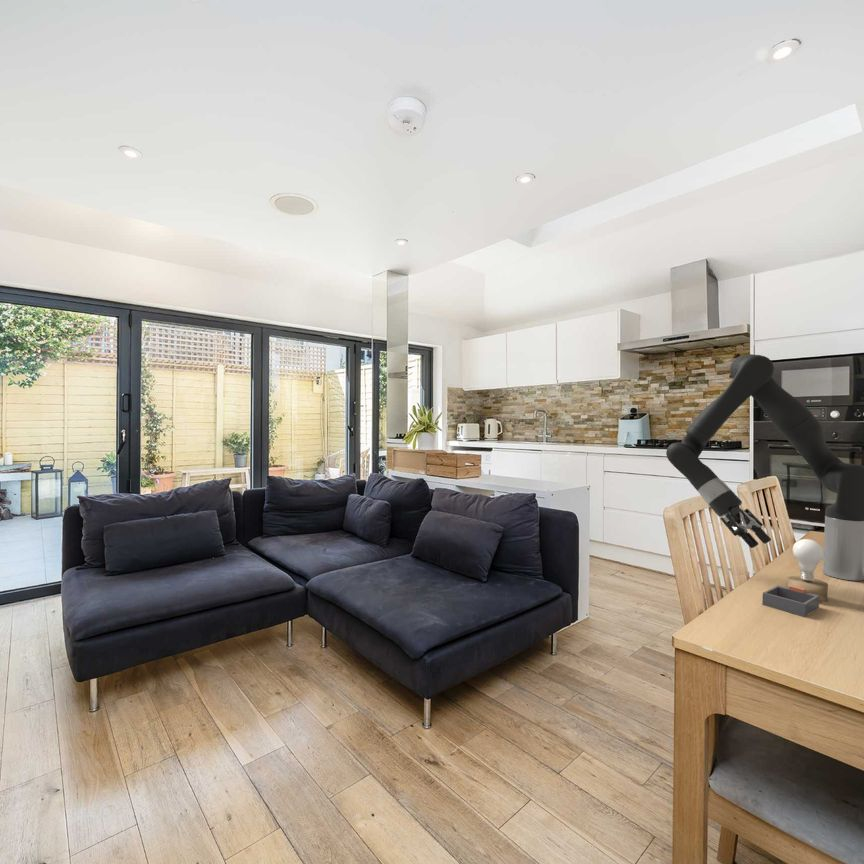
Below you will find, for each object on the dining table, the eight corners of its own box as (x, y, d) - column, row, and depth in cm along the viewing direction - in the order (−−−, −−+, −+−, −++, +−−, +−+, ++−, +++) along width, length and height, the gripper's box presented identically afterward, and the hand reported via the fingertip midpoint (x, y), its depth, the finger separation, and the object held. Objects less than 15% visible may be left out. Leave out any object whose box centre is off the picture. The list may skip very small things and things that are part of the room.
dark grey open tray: (777, 596, 123) (778, 582, 122) (818, 607, 116) (819, 592, 115) (762, 604, 117) (762, 589, 117) (804, 617, 110) (805, 600, 110)
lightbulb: (828, 586, 119) (830, 543, 119) (800, 584, 120) (801, 541, 120) (813, 578, 125) (814, 536, 125) (786, 576, 126) (788, 535, 126)
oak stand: (794, 588, 129) (795, 574, 128) (831, 598, 122) (832, 582, 122) (783, 594, 124) (783, 579, 124) (821, 604, 117) (821, 589, 117)
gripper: (717, 491, 134) (762, 540, 125) (740, 487, 142) (783, 533, 133) (697, 506, 138) (739, 555, 129) (720, 502, 146) (761, 547, 138)
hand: (761, 544), depth 131 cm, fingers open, 8 cm apart
